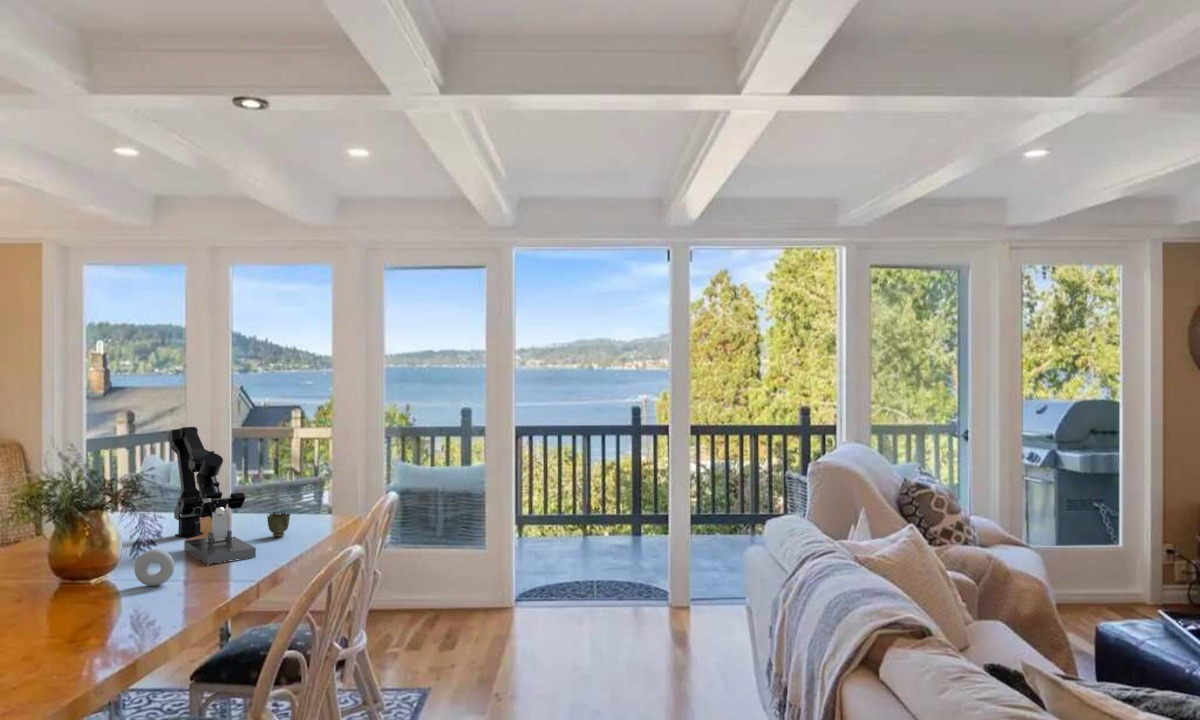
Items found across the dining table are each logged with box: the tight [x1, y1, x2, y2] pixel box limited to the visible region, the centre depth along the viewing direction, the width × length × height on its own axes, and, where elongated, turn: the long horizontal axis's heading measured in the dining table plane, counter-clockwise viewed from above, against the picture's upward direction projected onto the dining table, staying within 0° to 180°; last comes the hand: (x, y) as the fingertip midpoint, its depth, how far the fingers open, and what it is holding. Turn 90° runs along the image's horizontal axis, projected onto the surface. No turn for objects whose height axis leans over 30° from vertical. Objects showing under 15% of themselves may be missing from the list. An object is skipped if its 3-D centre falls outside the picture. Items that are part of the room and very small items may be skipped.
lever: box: [211, 507, 228, 544], centre depth 240 cm, size 3×4×12 cm
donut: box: [134, 548, 175, 587], centre depth 206 cm, size 10×4×10 cm, turn 100°
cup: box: [266, 511, 291, 538], centre depth 263 cm, size 8×7×8 cm
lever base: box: [184, 529, 257, 564], centre depth 240 cm, size 24×14×7 cm, turn 44°
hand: (218, 524), depth 241 cm, fingers closed
